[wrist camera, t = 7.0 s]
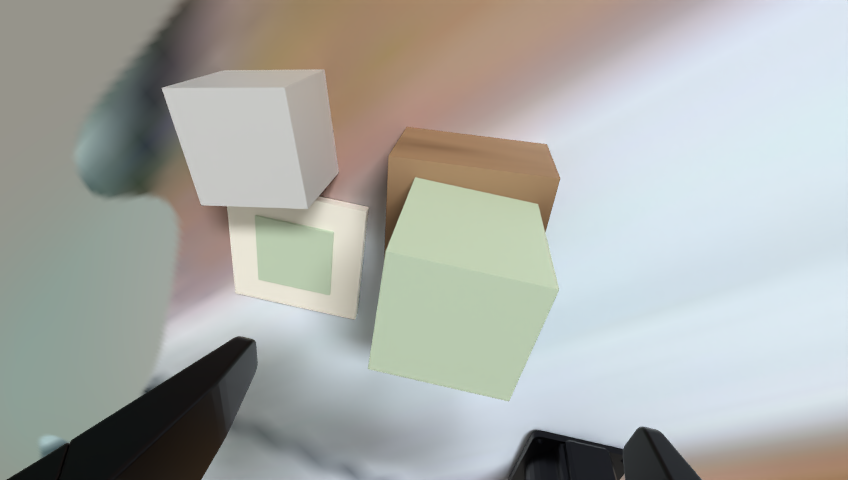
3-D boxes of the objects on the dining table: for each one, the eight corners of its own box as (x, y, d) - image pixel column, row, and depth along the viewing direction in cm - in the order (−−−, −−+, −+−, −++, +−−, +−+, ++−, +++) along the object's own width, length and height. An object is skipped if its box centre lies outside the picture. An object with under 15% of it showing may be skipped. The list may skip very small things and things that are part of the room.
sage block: (503, 299, 17) (508, 401, 13) (397, 275, 17) (367, 368, 13) (538, 203, 15) (558, 289, 10) (415, 177, 15) (385, 251, 10)
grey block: (339, 171, 19) (307, 208, 16) (250, 169, 20) (201, 205, 16) (325, 69, 17) (284, 87, 14) (224, 70, 18) (161, 88, 14)
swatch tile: (357, 314, 24) (354, 321, 23) (240, 287, 24) (234, 294, 23) (369, 207, 20) (365, 213, 19) (230, 177, 20) (223, 182, 20)
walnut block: (517, 259, 21) (523, 311, 17) (400, 242, 21) (382, 289, 18) (546, 142, 17) (560, 178, 14) (407, 125, 18) (388, 155, 14)
